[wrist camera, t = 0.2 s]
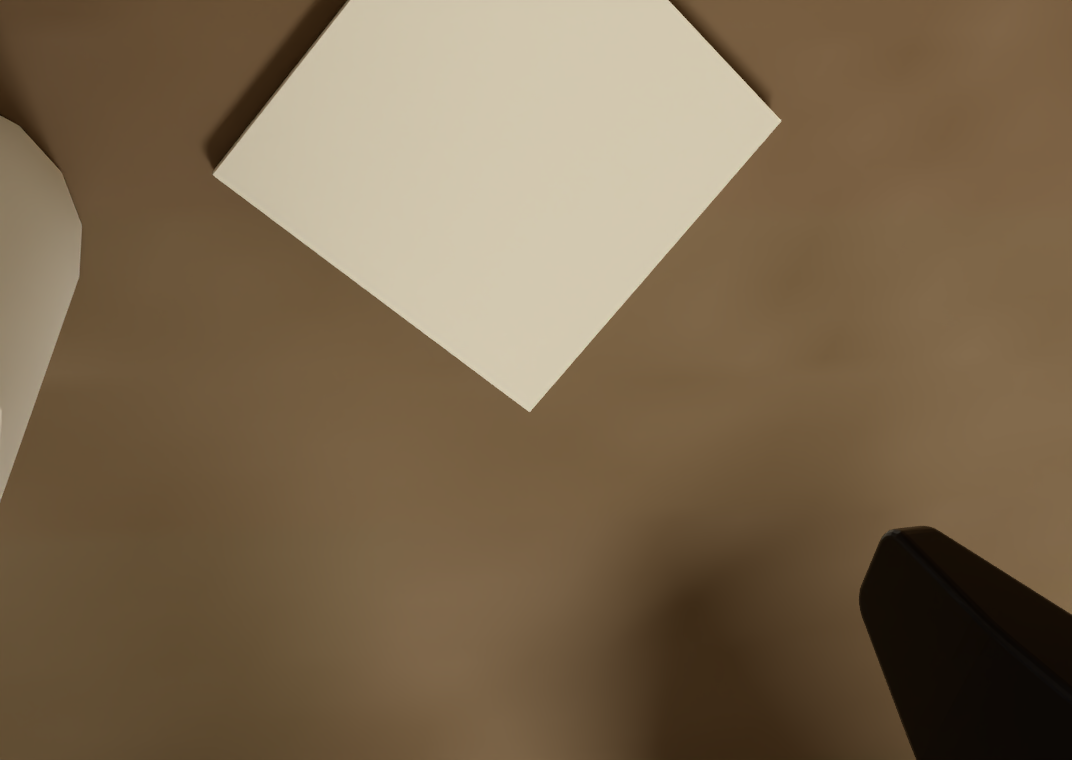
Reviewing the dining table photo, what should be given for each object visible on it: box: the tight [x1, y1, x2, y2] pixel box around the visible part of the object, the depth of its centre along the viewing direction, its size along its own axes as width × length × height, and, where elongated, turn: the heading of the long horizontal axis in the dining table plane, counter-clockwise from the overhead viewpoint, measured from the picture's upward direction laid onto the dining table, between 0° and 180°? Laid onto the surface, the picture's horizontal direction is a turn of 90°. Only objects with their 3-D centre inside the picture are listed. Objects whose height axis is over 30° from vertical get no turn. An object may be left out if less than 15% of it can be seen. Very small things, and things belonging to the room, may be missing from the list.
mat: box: [213, 0, 781, 412], centre depth 23 cm, size 9×9×1 cm
